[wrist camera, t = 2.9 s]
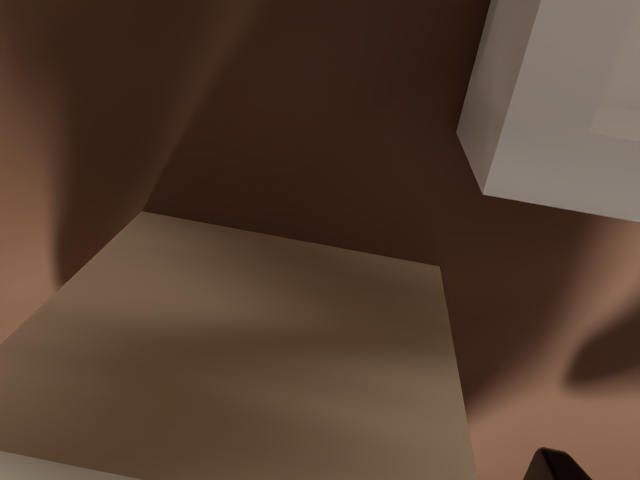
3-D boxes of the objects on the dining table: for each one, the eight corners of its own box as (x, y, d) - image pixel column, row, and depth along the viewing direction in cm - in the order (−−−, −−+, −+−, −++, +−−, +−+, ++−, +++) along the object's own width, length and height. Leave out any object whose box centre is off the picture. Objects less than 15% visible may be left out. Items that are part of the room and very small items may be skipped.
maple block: (439, 263, 9) (491, 558, 4) (379, 474, 11) (374, 815, 7) (143, 208, 9) (-99, 439, 5) (142, 427, 11) (-20, 726, 7)
